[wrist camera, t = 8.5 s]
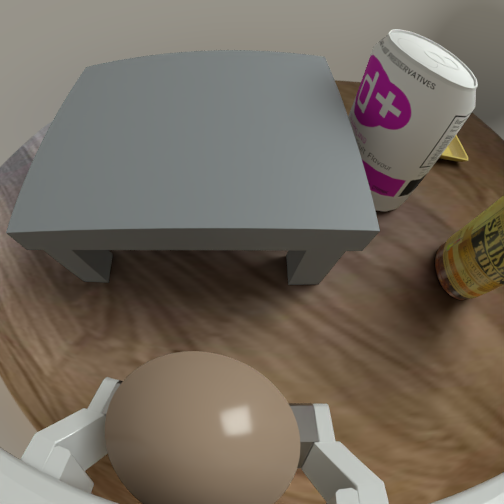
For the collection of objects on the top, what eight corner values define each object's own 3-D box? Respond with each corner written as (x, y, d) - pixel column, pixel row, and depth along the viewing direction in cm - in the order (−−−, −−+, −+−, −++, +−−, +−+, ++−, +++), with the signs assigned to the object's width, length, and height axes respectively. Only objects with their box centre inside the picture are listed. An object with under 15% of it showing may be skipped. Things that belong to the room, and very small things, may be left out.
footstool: (304, 137, 29) (324, 57, 20) (325, 290, 23) (379, 230, 14) (114, 141, 28) (86, 67, 19) (78, 287, 22) (6, 232, 12)
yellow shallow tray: (462, 170, 30) (470, 160, 28) (411, 162, 29) (419, 150, 28) (437, 122, 33) (444, 113, 32) (388, 112, 33) (394, 100, 31)
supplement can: (342, 217, 25) (419, 78, 12) (320, 147, 29) (361, 16, 15) (415, 214, 26) (503, 106, 12) (388, 150, 29) (444, 41, 16)
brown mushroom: (268, 363, 14) (298, 349, 7) (270, 452, 12) (299, 523, 5) (173, 362, 14) (104, 345, 7) (175, 450, 12) (113, 511, 5)
